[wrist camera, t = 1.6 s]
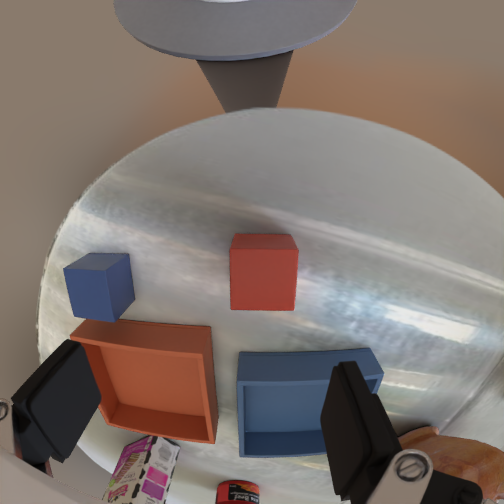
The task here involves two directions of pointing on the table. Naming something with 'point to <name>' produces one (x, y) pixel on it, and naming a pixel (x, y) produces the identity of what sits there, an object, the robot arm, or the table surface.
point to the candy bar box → (143, 472)
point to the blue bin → (290, 399)
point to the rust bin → (153, 377)
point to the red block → (263, 272)
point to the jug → (461, 458)
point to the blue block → (100, 286)
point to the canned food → (237, 493)
